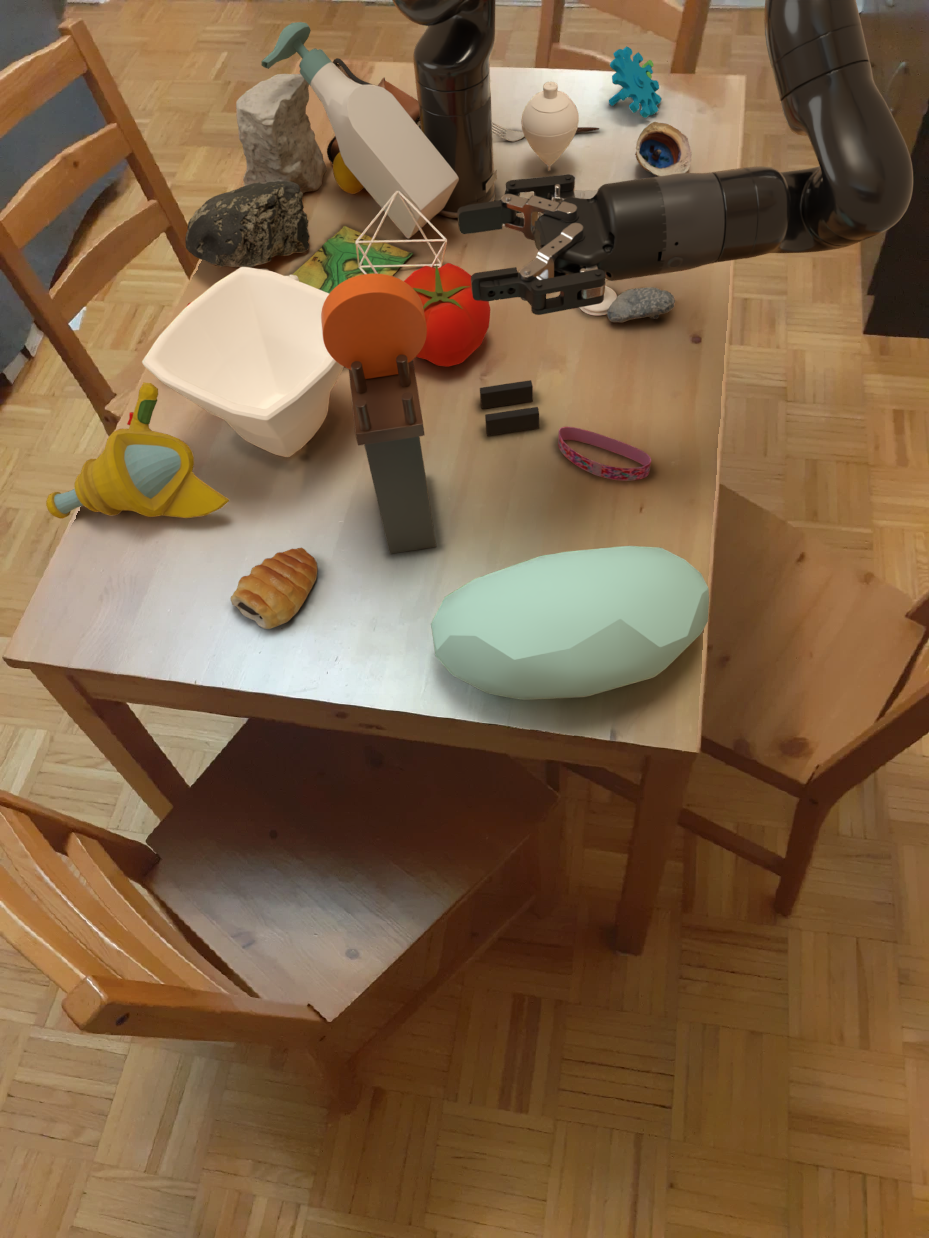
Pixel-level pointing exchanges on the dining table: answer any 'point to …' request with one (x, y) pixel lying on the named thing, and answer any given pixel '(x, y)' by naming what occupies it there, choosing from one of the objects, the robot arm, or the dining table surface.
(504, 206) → the robot arm
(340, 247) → the terrain map
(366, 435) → the rack
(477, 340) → the tomato
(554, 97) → the spinning top
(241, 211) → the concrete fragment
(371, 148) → the soap bottle
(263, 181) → the decorative stone
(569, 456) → the headband
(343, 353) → the disc
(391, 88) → the sunglasses case
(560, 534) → the dining table surface
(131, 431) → the toy
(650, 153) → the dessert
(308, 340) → the bowl
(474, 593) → the decorative stone
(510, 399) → the black blocks
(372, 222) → the geometric polyhedron
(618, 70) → the gear
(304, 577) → the pastry
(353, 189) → the doorknob
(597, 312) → the chess piece
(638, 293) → the fossil
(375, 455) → the stand block
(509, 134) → the fork
